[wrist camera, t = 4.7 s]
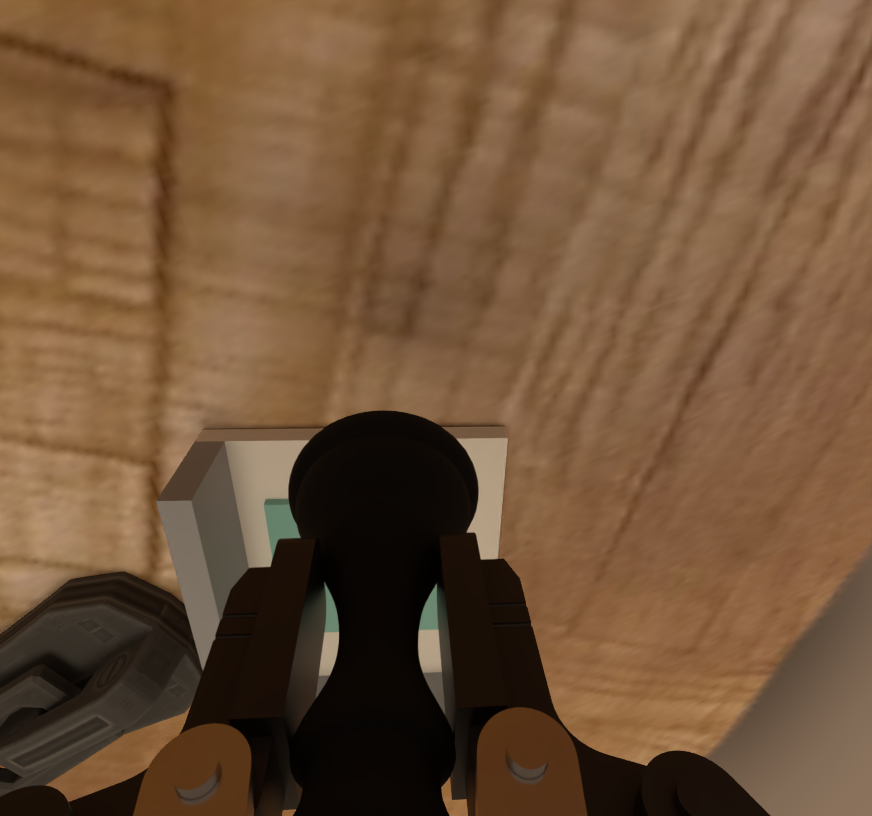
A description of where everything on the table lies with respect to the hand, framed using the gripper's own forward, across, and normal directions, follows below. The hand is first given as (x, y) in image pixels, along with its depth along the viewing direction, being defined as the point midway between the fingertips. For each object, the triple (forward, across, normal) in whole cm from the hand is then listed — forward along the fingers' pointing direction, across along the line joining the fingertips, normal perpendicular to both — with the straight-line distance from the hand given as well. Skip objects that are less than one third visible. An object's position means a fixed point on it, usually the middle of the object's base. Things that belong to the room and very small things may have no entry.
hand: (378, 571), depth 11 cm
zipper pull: (+13, +21, +21) cm, 33 cm away
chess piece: (+3, 0, 0) cm, 3 cm away
